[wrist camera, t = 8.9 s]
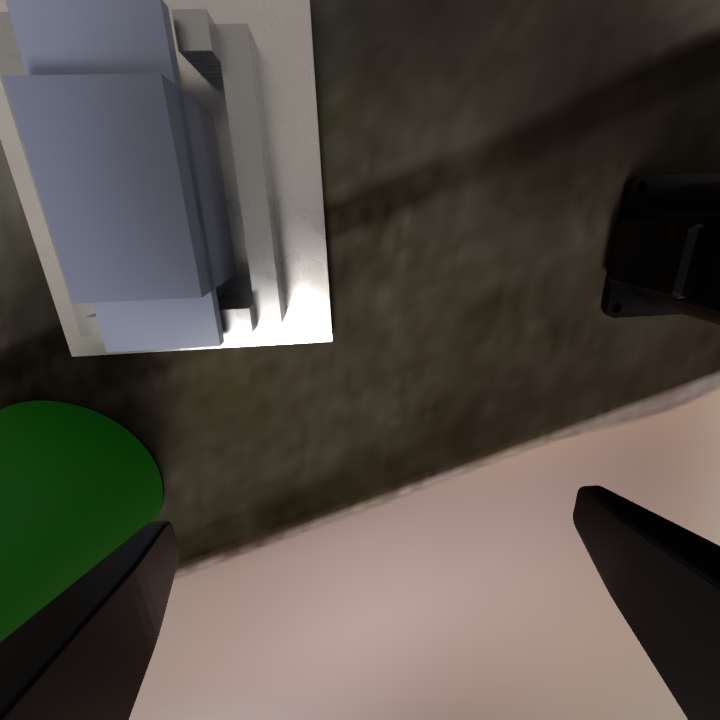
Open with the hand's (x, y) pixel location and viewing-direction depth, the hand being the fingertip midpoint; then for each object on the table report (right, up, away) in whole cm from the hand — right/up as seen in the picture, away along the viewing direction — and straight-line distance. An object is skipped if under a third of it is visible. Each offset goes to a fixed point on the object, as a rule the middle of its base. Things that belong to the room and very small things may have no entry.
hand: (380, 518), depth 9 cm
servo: (-8, +10, +7) cm, 15 cm away
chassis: (-8, +10, +8) cm, 16 cm away
